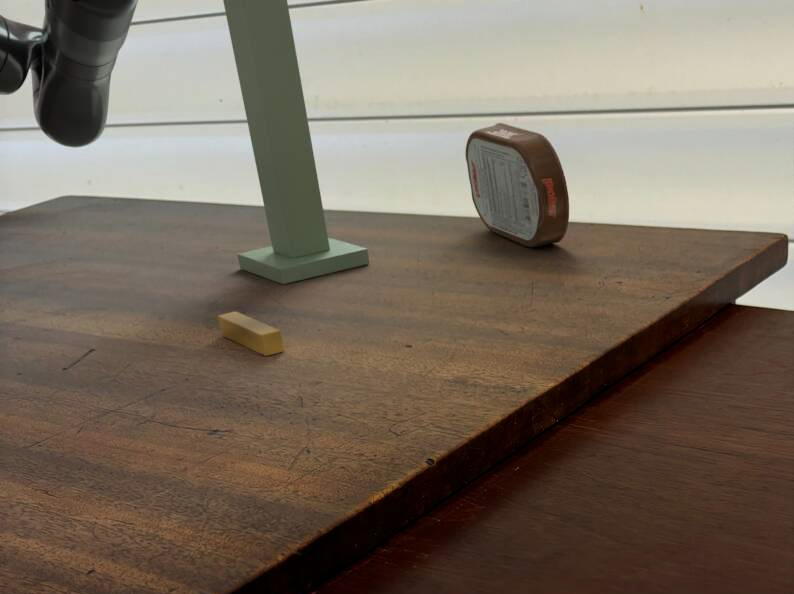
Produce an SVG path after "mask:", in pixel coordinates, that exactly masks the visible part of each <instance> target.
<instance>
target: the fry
mask: <svg viewBox="0 0 794 594" xmlns="http://www.w3.org/2000/svg"><path fill="white" fill-rule="evenodd" d="M217 320H218V324H219V327H220V333H221V335H222V337H224V338H226V339H228V340H231V341H232V342H235V343H237V344H239V345H240V346H243V347H245V348H247V349H250V350H251V351H253V352H256V353H258V354H260V355H262V356H265V357H268V356H271V355H272V356H273V355H277V354H279V353H283V352H284V351H285V349H284V344H283V339H282V338H283V337H282V334H281V330H280V329H278V328H275V327H274V326H271V325H268V324H266V323H264V322H261V321H260V320H257V319H254V318H252V317H250V316H247V315H245V314H243V313H242V312H239V311H236V310H235V311H230V312H227V313H222V314H219V315H217Z"/></svg>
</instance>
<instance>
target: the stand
mask: <svg viewBox="0 0 794 594" xmlns="http://www.w3.org/2000/svg"><path fill="white" fill-rule="evenodd" d="M222 1H223V6H224V11H225V16H226V21H227V26H228V31H229V32H228V33H229V36H230V41H231V48H232V51H233V56H234V62H235V66H236V72H237V76H238V81H239V86H240V92H241V96H242V101H243V106H244V111H245V116H246V122H247V126H248V132H249V136H250V142H251V146H252V147H251V148H252V151H253V156H254V161H255V166H256V172H257V177H258V181H259V187H260V191H261V196H262V197H261V198H262V202H263V207H264V211H265V217H266V221H267V227H268V233H269V237H270V243H271V246H267V247H262V248H258V249H253V250H248V251H244V252H239V253H237V259H238V265H239V269H240V270H243V271H246V272H248V273H251V274H253V275H257V276H259V277H261V278H265V279H267V280H269V281H272V282H275V283H278V284H280V285H286V284H291V283H294V282H295V283H296V282H299V281H303V280H307V279H312V278H316V277H321V276H324V275H329V274H333V273H336V272H340V271H346V270H349V269H354V268H358V267H362V266H366V265H370V258H369V251H368V248H366V247H363V246H359V245H356V244H352V243H350V242H345V241H343V240H339V239H335V238H332V237H329V235H328V230H327V223H326V219H325V212H324V206H323V201H322V195H321V190H320V183H319V178H318V171H317V166H316V165H317V164H316V161H315V155H314V154H315V153H314V149H313V142H312V137H311V131H310V126H309V125H310V124H309V119H308V113H307V108H306V101H305V96H304V91H303V85H302V79H301V72H300V68H299V61H298V55H297V50H296V44H295V39H294V33H293V32H294V31H293V27H292V22H291V16H290V10H289V3H288V0H222Z"/></svg>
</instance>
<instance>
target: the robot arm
mask: <svg viewBox="0 0 794 594" xmlns="http://www.w3.org/2000/svg"><path fill="white" fill-rule="evenodd" d="M138 2H139V0H44V17H43V22H42V27H38V26H34V25H31V24H26V23H23V22H19V21H16V20H12V19H9V18H8V17H7V18H6V17H5V16H4V15H1V14H0V95H1V96H9V95H13V94H14V93H17V92H18V91H19V90H20V89H21V88H22V87H23V85H24V83H25V81H26V80H27V78H28V74H29V71H30V73H31V91H32V106H33V115H34V119H35V121H36V123H37V125H38V127H39V128H40V130H41V131H42V133H44V135H45V136H46V137H48V138H49V139H50V140H51V141H53V142H55V143H56V144H58V145H60V146H63V147H68V148H83V147H87V146H89V145H91V144H93V143H94V142H96V141H97V140H98V139H99V138H101V136H102V134H103V133H104V131H105V129H106V125H107V120H108V112H109V103H110V102H109V101H110V87H111V79H112V73H113V70H114V69H115V66H116V63H117V59H118V56H119V52H120V50H121V49H122V48H123V46H124V44H125V42H126V40H127V37H128V34H129V31H130V28H131V25H132V21H133V18H134V15H135V11H136V8H137V5H138Z"/></svg>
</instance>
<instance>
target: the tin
mask: <svg viewBox="0 0 794 594" xmlns="http://www.w3.org/2000/svg"><path fill="white" fill-rule="evenodd" d="M465 161H466V165H467V166H466V167H467V174H468V180H469V185H470V191H471V200H472V202H473V205H474V208H475V210H476V212H477V214H478V217H479V218H480V220H481V221H482V223H483V224H484V226H485V227H486V228H487V229H488V230H489V231H491V232H493V233H495V234H496V235H499V236H502V237H505V238H507V239H509V240H511V241H514V242H516V243H518V244H520V245H523V246H525V247H527V248H537V247H542V246H546V245H550V244H558V243H560V242H561V241H562V240H563V239H564V238H565V235H566V233H567V230H568V227H569V220H570V198H569V191H568V184H567V181H566V180H567V179H566V176H565V172H564V169H563V167H562V166H563V165H562V163H561V161H560V157H559V156H558V154H557V151H556V150H555V147H554V146H553V145H552V143H551V142H550V140H548V138H547V137H546V136H545V135H544V134H541V133H539V132H536V131H532V130H528V129H525V128H521V127H518V126H513V125H510V124H507V123H504V122H498V123H496V124H494V125H491V126H487V127H482V128H479V129H476V130H474V131H472V132H471V134H469V136H468V138H467V141H466V145H465Z"/></svg>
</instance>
